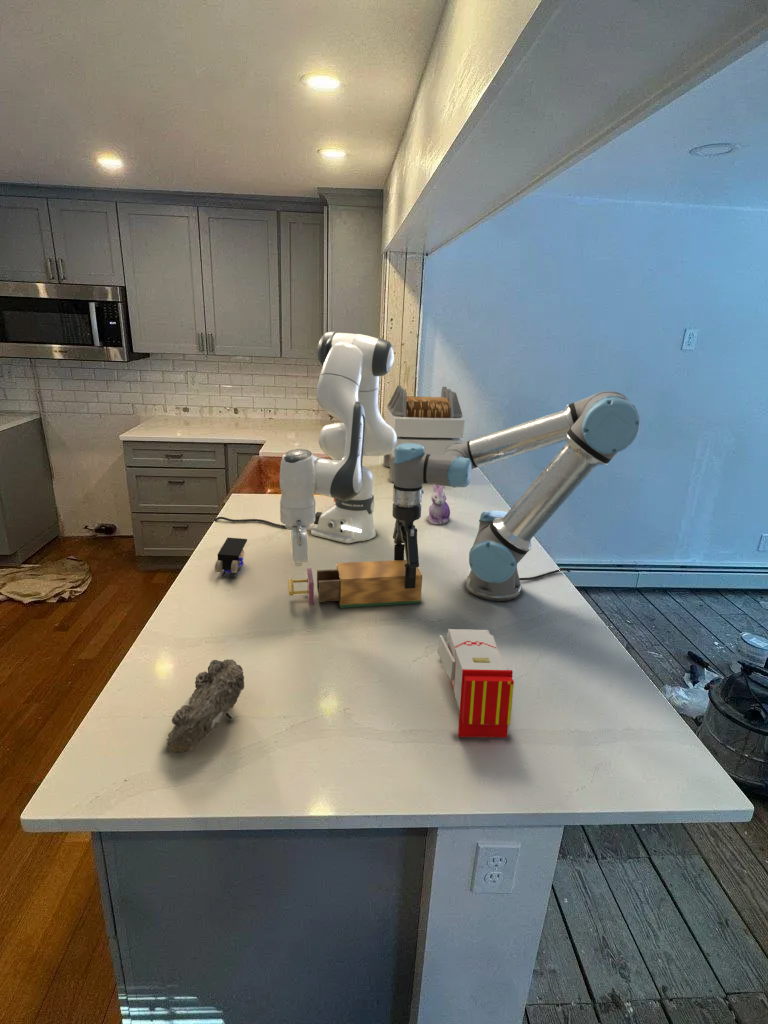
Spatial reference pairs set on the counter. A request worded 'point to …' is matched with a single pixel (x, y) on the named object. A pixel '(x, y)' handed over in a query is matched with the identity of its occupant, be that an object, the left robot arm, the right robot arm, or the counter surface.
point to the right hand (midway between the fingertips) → (404, 576)
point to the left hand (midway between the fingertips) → (298, 563)
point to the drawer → (319, 585)
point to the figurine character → (230, 556)
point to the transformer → (424, 422)
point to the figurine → (439, 506)
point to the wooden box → (376, 584)
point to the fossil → (206, 705)
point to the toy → (478, 682)
